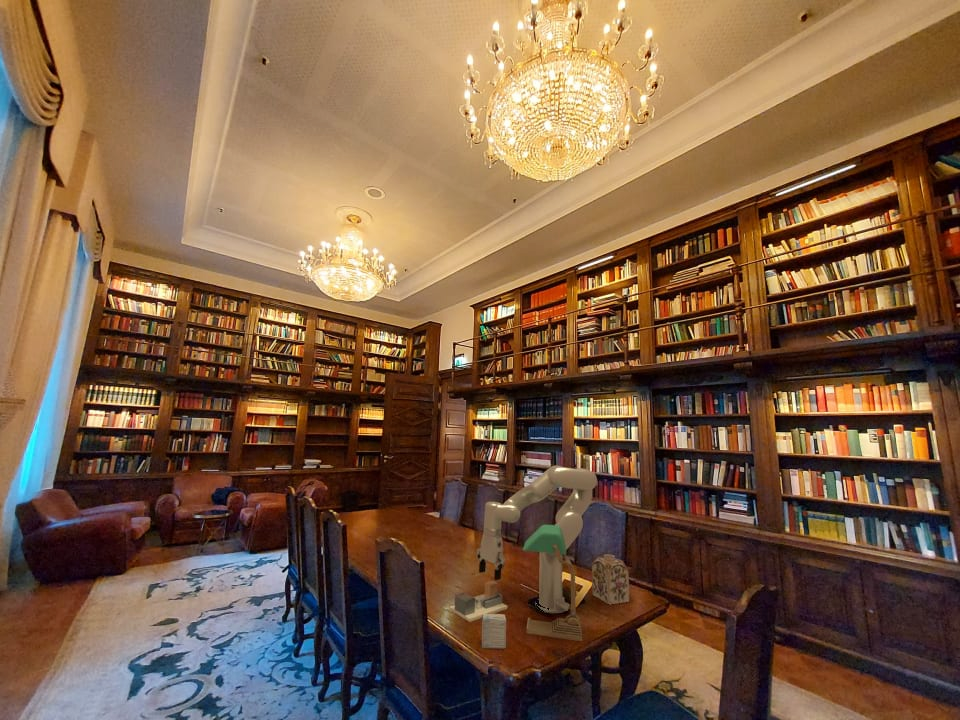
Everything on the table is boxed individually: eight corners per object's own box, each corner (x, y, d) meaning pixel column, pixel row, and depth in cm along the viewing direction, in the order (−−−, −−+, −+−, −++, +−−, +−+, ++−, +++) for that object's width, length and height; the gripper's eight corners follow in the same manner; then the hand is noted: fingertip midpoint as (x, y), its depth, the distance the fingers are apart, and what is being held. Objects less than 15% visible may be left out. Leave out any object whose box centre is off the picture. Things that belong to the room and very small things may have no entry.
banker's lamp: (583, 646, 127) (581, 535, 134) (521, 637, 131) (522, 530, 139) (580, 625, 142) (578, 526, 149) (525, 618, 146) (526, 522, 154)
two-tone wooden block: (497, 602, 157) (498, 582, 158) (477, 608, 150) (478, 588, 152) (492, 599, 159) (492, 580, 161) (472, 605, 152) (472, 585, 154)
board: (507, 608, 154) (507, 597, 155) (469, 621, 141) (470, 609, 142) (486, 598, 163) (486, 587, 164) (449, 609, 151) (449, 597, 152)
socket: (474, 612, 147) (475, 598, 148) (465, 615, 144) (465, 601, 145) (463, 606, 152) (464, 592, 153) (454, 609, 149) (455, 595, 150)
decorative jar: (609, 605, 161) (607, 560, 165) (591, 595, 171) (590, 552, 175) (630, 602, 165) (628, 558, 169) (612, 592, 176) (611, 550, 180)
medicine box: (504, 642, 128) (505, 613, 130) (505, 649, 123) (506, 619, 125) (481, 641, 128) (482, 613, 129) (481, 648, 123) (482, 619, 125)
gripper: (512, 536, 158) (510, 580, 155) (485, 527, 171) (482, 568, 168) (499, 538, 154) (497, 584, 150) (472, 528, 167) (469, 570, 163)
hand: (489, 575), depth 159 cm, fingers open, 9 cm apart
